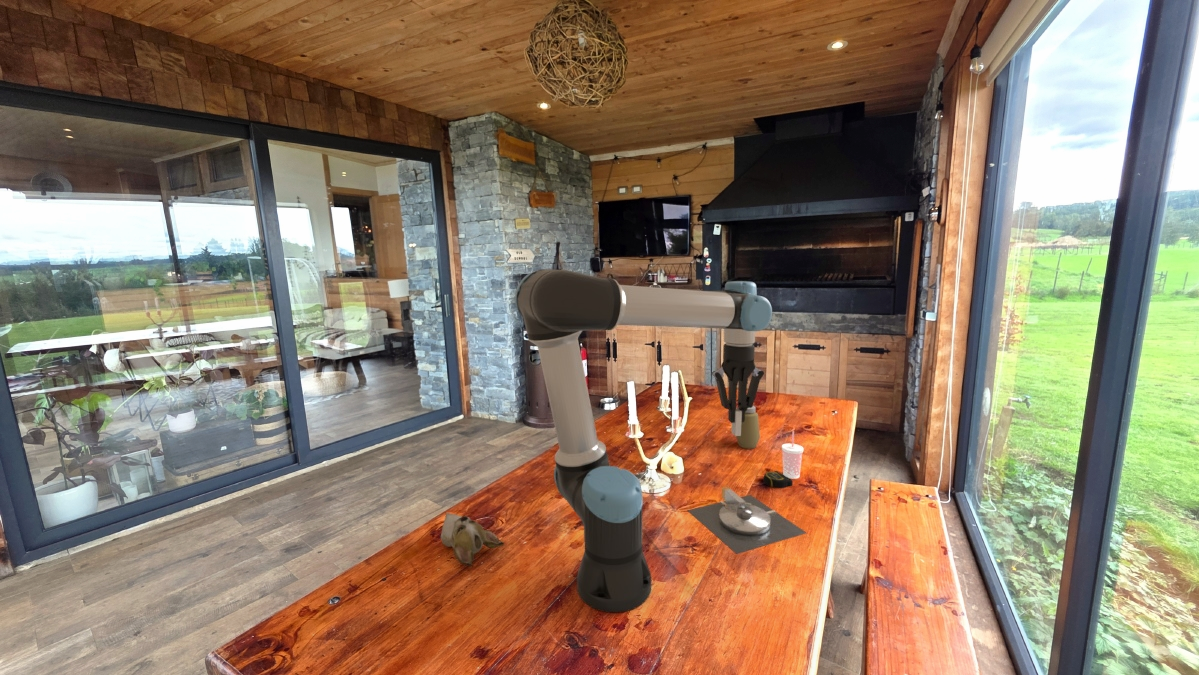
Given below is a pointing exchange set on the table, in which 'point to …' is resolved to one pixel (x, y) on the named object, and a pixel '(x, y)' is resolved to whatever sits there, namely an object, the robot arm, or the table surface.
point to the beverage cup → (792, 459)
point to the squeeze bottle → (749, 430)
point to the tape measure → (777, 480)
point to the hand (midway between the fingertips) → (736, 434)
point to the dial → (742, 515)
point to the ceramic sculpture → (466, 537)
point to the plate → (741, 542)
